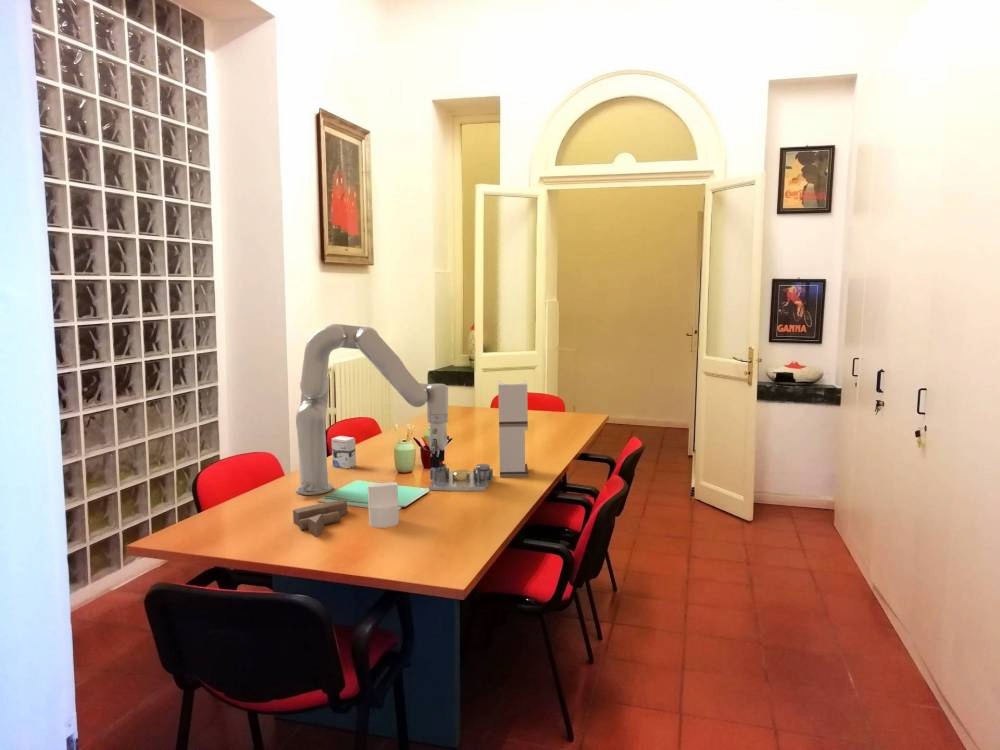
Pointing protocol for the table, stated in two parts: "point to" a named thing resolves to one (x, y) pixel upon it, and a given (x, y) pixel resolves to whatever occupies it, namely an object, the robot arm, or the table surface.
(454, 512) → the table surface
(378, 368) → the robot arm
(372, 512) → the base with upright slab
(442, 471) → the planet gear
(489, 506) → the table surface
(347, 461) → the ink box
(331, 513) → the wooden block set
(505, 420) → the grey tall pillar
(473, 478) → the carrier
